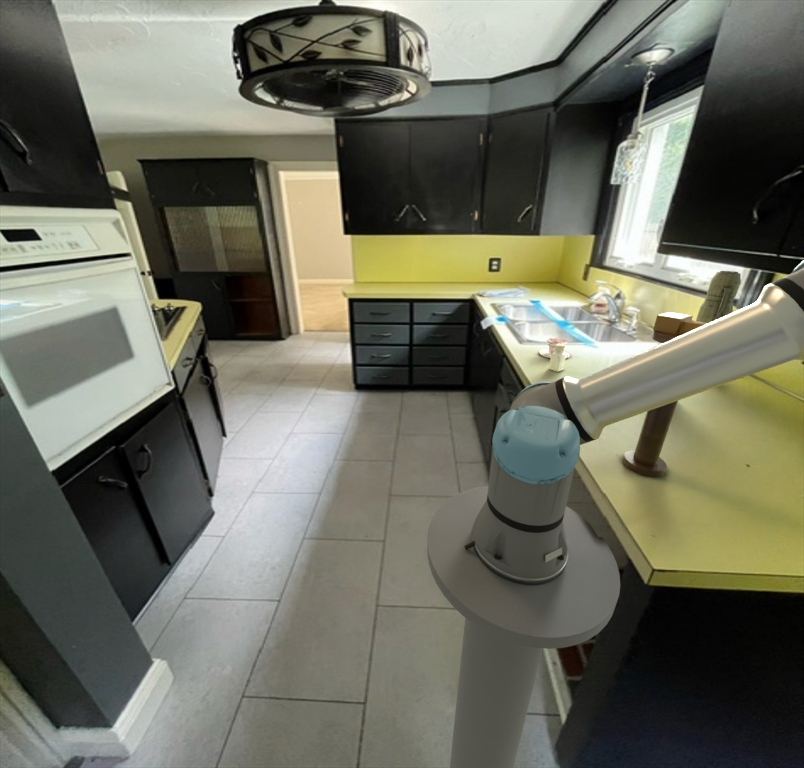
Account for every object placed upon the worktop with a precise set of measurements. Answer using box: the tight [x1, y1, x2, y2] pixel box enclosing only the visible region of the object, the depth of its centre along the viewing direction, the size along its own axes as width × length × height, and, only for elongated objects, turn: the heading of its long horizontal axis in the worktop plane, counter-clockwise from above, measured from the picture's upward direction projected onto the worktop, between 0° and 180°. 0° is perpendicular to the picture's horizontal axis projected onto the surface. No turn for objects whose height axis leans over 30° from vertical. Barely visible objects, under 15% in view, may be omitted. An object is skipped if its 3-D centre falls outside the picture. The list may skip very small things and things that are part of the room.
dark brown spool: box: [622, 330, 683, 478], centre depth 74 cm, size 10×10×30 cm
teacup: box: [538, 337, 571, 360], centre depth 149 cm, size 12×12×6 cm
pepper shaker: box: [548, 344, 567, 372], centre depth 132 cm, size 4×4×10 cm
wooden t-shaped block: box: [652, 311, 708, 335], centre depth 64 cm, size 5×18×3 cm, turn 32°
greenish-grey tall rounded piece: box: [695, 270, 742, 323], centre depth 126 cm, size 9×12×35 cm
